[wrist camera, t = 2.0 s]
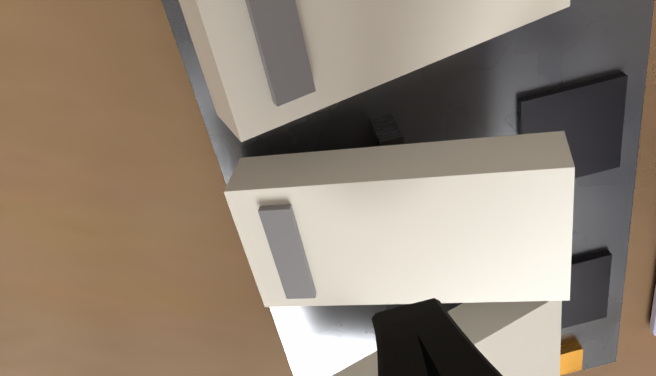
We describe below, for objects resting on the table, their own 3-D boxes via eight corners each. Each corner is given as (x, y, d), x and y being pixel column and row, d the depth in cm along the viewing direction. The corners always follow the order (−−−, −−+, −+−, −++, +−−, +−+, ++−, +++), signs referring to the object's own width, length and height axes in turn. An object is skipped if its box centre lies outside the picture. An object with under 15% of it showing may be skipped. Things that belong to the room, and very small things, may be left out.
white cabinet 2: (564, 130, 14) (576, 172, 13) (560, 259, 16) (571, 306, 15) (240, 157, 16) (221, 196, 15) (276, 269, 18) (263, 312, 17)
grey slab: (589, -356, 15) (745, -416, 11) (565, 351, 29) (626, 450, 25) (105, -242, 15) (58, -255, 10) (321, 414, 29) (340, 525, 25)
